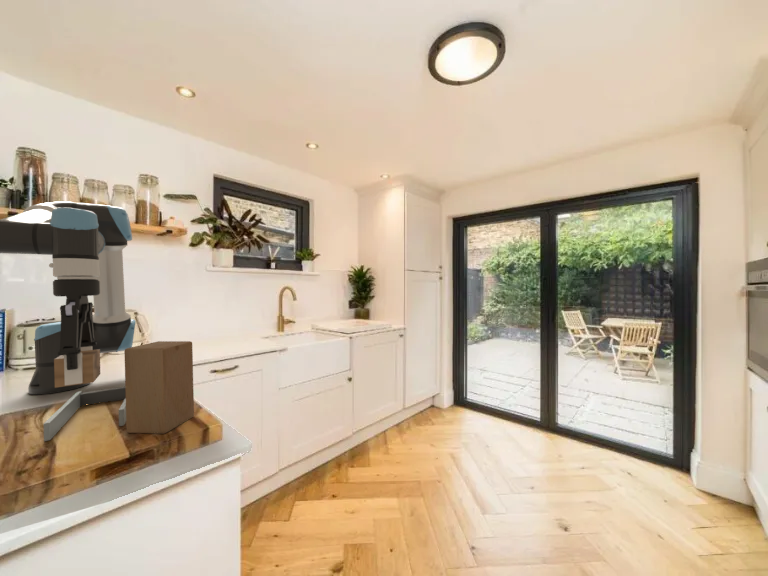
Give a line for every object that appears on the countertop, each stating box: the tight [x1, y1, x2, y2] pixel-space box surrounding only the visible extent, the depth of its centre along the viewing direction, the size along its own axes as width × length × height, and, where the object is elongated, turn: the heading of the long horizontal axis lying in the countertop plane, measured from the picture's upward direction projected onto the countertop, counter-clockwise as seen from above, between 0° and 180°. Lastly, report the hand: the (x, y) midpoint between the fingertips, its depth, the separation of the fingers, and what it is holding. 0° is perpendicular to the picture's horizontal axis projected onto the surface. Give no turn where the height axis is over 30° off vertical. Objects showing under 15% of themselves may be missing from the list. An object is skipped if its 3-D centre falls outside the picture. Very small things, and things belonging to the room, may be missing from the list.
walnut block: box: [54, 349, 101, 388], centre depth 70 cm, size 8×6×6 cm
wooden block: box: [124, 340, 195, 435], centre depth 78 cm, size 10×10×20 cm
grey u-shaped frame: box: [43, 386, 126, 442], centre depth 85 cm, size 26×14×4 cm, turn 33°
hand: (79, 378), depth 71 cm, fingers closed on walnut block, 8 cm apart
